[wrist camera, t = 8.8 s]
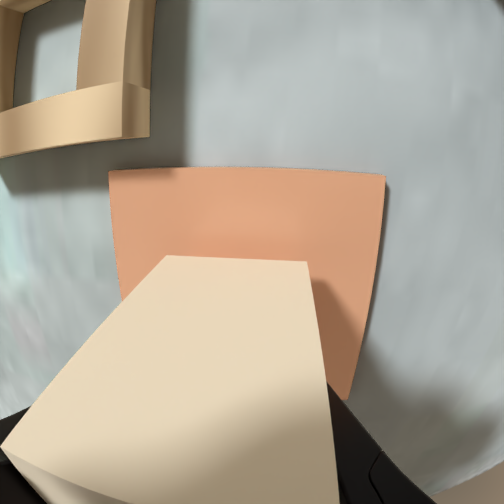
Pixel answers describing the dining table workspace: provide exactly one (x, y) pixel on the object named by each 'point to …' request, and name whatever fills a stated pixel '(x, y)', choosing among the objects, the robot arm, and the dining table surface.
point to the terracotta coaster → (261, 235)
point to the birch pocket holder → (83, 80)
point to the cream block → (190, 395)
